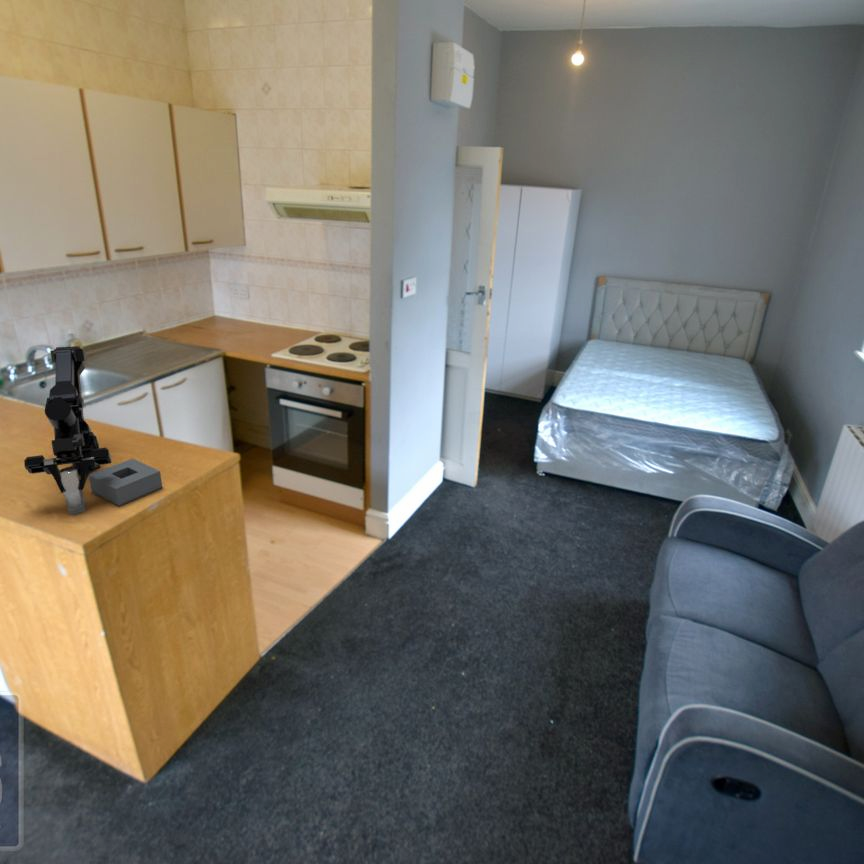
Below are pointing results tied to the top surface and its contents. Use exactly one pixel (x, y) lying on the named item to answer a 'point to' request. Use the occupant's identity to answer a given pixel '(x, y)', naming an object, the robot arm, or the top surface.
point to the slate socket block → (125, 482)
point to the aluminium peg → (72, 490)
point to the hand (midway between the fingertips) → (72, 491)
